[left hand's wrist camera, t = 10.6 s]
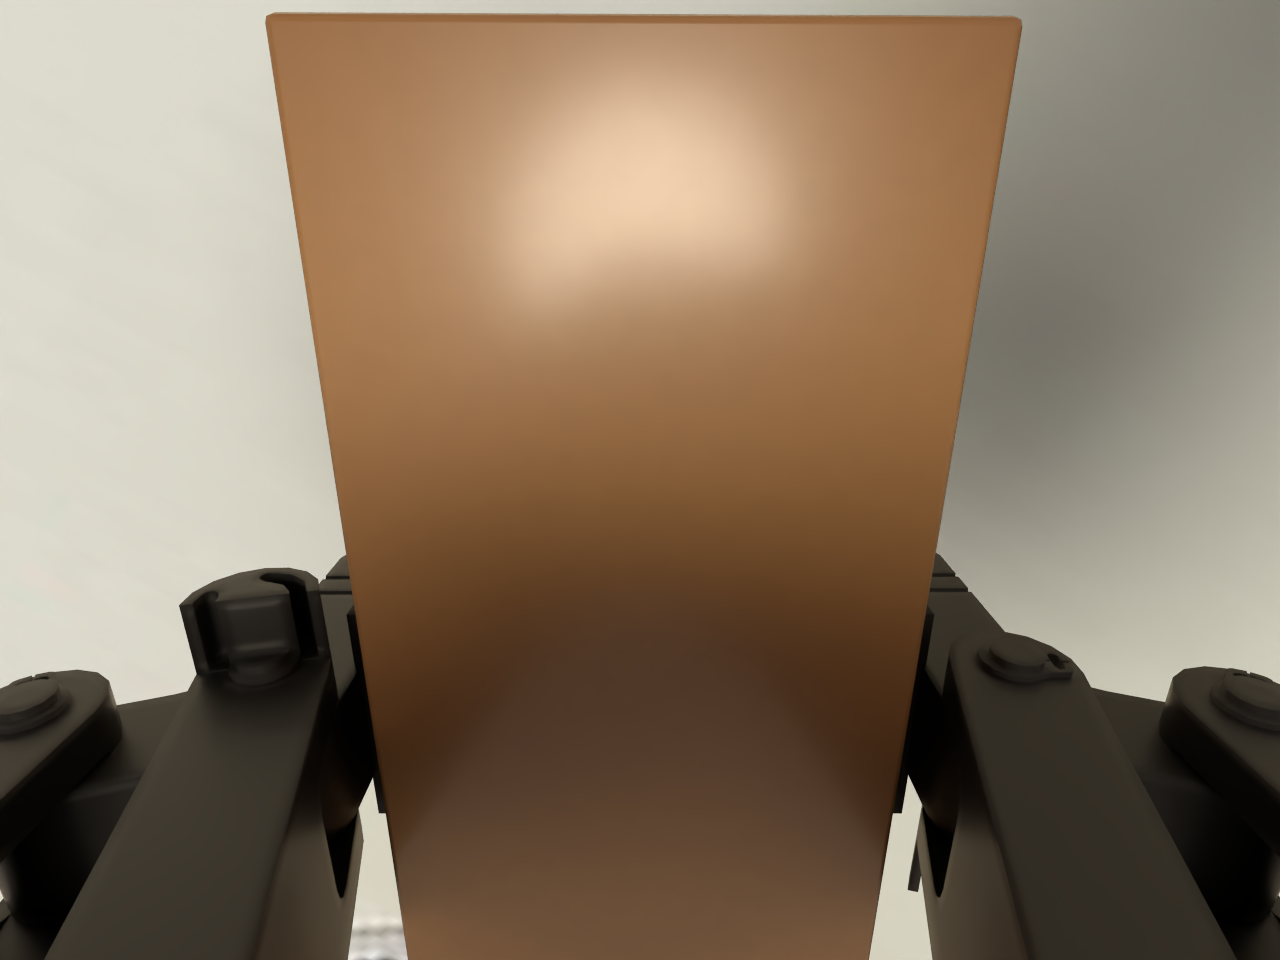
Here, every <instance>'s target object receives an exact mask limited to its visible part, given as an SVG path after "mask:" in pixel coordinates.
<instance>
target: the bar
mask: <svg viewBox="0 0 1280 960" xmlns="http://www.w3.org/2000/svg"><path fill="white" fill-rule="evenodd" d="M265 23H266V30H267V37H268V43H269V50H270V56H271V63H272V69H273V76H274V82H275V89H276V96H277V102H278V109H279V115H280V122H281V128H282V135H283V142H284V148H285V155H286V161H287V168H288V174H289V181H290V188H291V194H292V201H293V207H294V214H295V220H296V227H297V233H298V240H299V247H300V253H301V260H302V266H303V273H304V279H305V286H306V293H307V299H308V306H309V312H310V319H311V325H312V332H313V338H314V345H315V352H316V358H317V365H318V371H319V378H320V384H321V391H322V398H323V404H324V411H325V417H326V424H327V430H328V437H329V443H330V450H331V457H332V463H333V470H334V476H335V483H336V489H337V496H338V503H339V509H340V516H341V522H342V529H343V535H344V542H345V549H346V555H347V562H348V568H349V575H350V581H351V588H352V594H353V601H354V608H355V614H356V621H357V627H358V634H359V640H360V647H361V654H362V660H363V667H364V673H365V680H366V686H367V693H368V699H369V706H370V713H371V719H372V726H373V732H374V739H375V745H376V752H377V759H378V765H379V772H380V778H381V785H382V791H383V798H384V805H385V811H386V818H387V824H388V831H389V837H390V844H391V850H392V857H393V864H394V870H395V877H396V883H397V890H398V896H399V903H400V910H401V916H402V923H403V929H404V936H405V942H406V949H407V955H408V960H869V955H870V949H871V943H872V937H873V931H874V925H875V918H876V912H877V906H878V900H879V894H880V888H881V882H882V876H883V870H884V864H885V858H886V852H887V845H888V839H889V833H890V827H891V821H892V815H893V809H894V803H895V797H896V791H897V785H898V779H899V773H900V766H901V760H902V754H903V748H904V742H905V736H906V730H907V724H908V718H909V712H910V706H911V700H912V693H913V687H914V681H915V675H916V669H917V663H918V657H919V651H920V645H921V639H922V633H923V627H924V620H925V614H926V608H927V602H928V596H929V590H930V584H931V578H932V572H933V566H934V560H935V554H936V548H937V541H938V535H939V529H940V523H941V517H942V511H943V505H944V499H945V493H946V487H947V481H948V475H949V468H950V462H951V456H952V450H953V444H954V438H955V432H956V426H957V420H958V414H959V408H960V402H961V395H962V389H963V383H964V377H965V371H966V365H967V359H968V353H969V347H970V341H971V335H972V329H973V322H974V316H975V310H976V304H977V298H978V292H979V286H980V280H981V274H982V268H983V262H984V256H985V250H986V243H987V237H988V231H989V225H990V219H991V213H992V207H993V201H994V195H995V189H996V183H997V177H998V170H999V164H1000V158H1001V152H1002V146H1003V140H1004V134H1005V128H1006V122H1007V116H1008V110H1009V104H1010V97H1011V91H1012V85H1013V79H1014V73H1015V67H1016V61H1017V55H1018V49H1019V43H1020V37H1021V31H1022V21H1021V19H1018V18H1016V17H1014V16H911V15H706V14H502V13H298V12H274V13H272V14H270V15H268V16H266V22H265Z"/></svg>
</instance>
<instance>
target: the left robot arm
mask: <svg viewBox="0 0 1280 960" xmlns="http://www.w3.org/2000/svg"><path fill="white" fill-rule="evenodd" d="M179 607H180V611H181V615H182V619H183V623H184V626H185V630H186V634H187V638H188V642H189V646H190V650H191V654H192V658H193V661H194V665H195V669H196V673H197V675H196V676H195V678H194V680H193V682H192V684H191V686H190V688H189V690H188V691H187V692H183V693H179V694H175V695H169V696H164V697H159V698H154V699H148V700H143V701H138V702H132V703H127V704H122V705H116V702H115V699H114V696H113V692H112V689H111V686H110V683H109V681H108V680H107V679H106V678H104V677H103V676H102V675H100V674H99V673H97V672H90V671H83V670H70V671H60V672H47V673H42V674H37V675H35V677H32V676H29V677H26V678H23V679H19V680H16V681H14V682H12V683H11V684H10V685H8V686H6V687H3V688H1V689H0V890H1V893H2V895H3V897H4V899H3V900H2V901H1V902H0V960H348V953H349V946H350V938H351V931H352V924H353V916H354V909H355V901H356V894H357V886H358V879H359V871H360V864H361V856H362V849H363V842H364V840H363V833H362V825H361V820H360V814H359V809H358V808H359V806H360V804H361V802H362V800H363V797H364V795H365V793H366V791H367V789H368V787H369V784H370V782H371V780H372V778H373V780H374V786H375V792H376V798H377V804H378V811H379V813H386V811H385V805H384V798H383V791H382V785H381V778H380V772H379V765H378V759H377V752H376V745H375V739H374V732H373V726H372V719H371V713H370V706H369V699H368V693H367V686H366V680H365V673H364V667H363V660H362V654H361V647H360V640H359V634H358V627H357V621H356V614H355V608H354V601H353V594H352V588H351V581H350V575H349V568H348V562H347V555H345V556H343V557H342V558H341V559H340V560H339V561H338V562H337V563H336V565H335V566H334V567H333V568H332V569H331V570H330V572H329V573H328V574H327V575H326V579H323V580H322V581H321V582H320V584H319V583H318V579H317V578H315V577H314V576H313V575H311V574H310V573H308V572H307V571H302V570H297V569H292V568H264V569H258V570H253V571H247V572H241V573H237V574H234V575H231V576H228V577H225V578H222V579H219V580H216V581H213V582H212V583H210V584H208V585H206V586H204V587H202V588H200V589H198V590H197V591H195V592H193V593H192V594H191V595H190V596H188V597H187V598H186V599H185V600H184V601H183V602H182V603H181V604H180V605H179ZM908 775H909V777H910V779H911V781H912V783H913V786H914V788H915V790H916V792H917V794H918V796H919V798H920V801H921V803H922V809H921V814H920V820H919V825H918V831H917V837H916V842H915V848H914V854H913V859H912V865H911V871H910V877H909V884H908V890H910V891H915V892H918V888H919V883H920V878H921V877H922V885H923V892H924V899H925V907H926V914H927V922H928V929H929V937H930V944H931V951H932V959H933V960H1280V897H1279V896H1278V895H1279V892H1280V684H1278V683H1275V682H1273V681H1272V680H1271V679H1269V678H1267V677H1265V676H1261V675H1258V674H1255V673H1251V672H1250V674H1248V673H1247V671H1243V670H1238V669H1233V668H1229V669H1225V668H1216V667H1206V666H1203V667H1196V668H1189V669H1184V670H1182V671H1181V672H1180V673H1178V674H1177V675H1176V676H1174V677H1173V679H1172V682H1171V685H1170V689H1169V692H1168V695H1167V698H1166V702H1161V701H1156V700H1150V699H1145V698H1140V697H1134V696H1129V695H1124V694H1119V693H1113V692H1108V691H1103V690H1099V689H1095V688H1091V686H1090V684H1089V683H1088V681H1087V679H1086V677H1085V675H1084V673H1083V672H1082V671H1081V670H1080V669H1079V668H1078V666H1077V665H1076V664H1075V663H1074V662H1073V661H1072V659H1070V658H1069V657H1067V656H1066V655H1064V654H1063V653H1061V652H1059V651H1058V650H1056V649H1055V648H1053V647H1052V646H1049V645H1047V644H1044V643H1042V642H1039V641H1037V640H1034V639H1032V638H1029V637H1026V636H1021V635H1017V634H1012V633H1007V632H1005V631H1004V630H1003V629H1002V628H1001V627H1000V626H999V624H998V623H997V622H996V621H995V620H994V618H993V617H992V616H991V615H990V614H989V613H988V611H987V610H986V609H985V608H984V607H983V605H982V604H981V603H980V602H979V601H978V600H977V598H976V597H975V596H974V595H973V594H972V592H968V588H967V587H966V585H965V584H964V583H963V582H962V581H961V579H960V578H959V577H955V572H954V571H953V570H952V569H951V568H950V566H949V565H948V564H947V563H946V562H945V561H944V559H943V558H942V557H941V556H940V555H939V554H937V553H936V554H935V560H934V566H933V572H932V578H931V584H930V590H929V596H928V602H927V608H926V614H925V620H924V627H923V633H922V639H921V645H920V651H919V657H918V663H917V669H916V675H915V681H914V687H913V693H912V700H911V706H910V712H909V718H908V724H907V730H906V736H905V742H904V748H903V754H902V760H901V766H900V773H899V779H898V785H897V791H896V797H895V803H894V809H893V813H902V808H903V802H904V796H905V790H906V784H907V778H908Z"/></svg>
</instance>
